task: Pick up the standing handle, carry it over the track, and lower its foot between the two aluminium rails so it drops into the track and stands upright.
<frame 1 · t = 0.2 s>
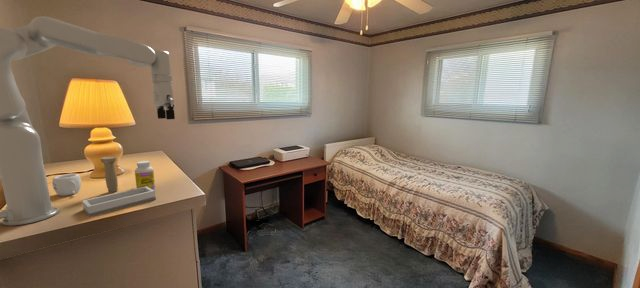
hand: (166, 118, 115), 31 cm above the table, tool pointing down, fingers open, 9 cm apart
mug: (71, 194, 107), on the table
supplement bottle: (146, 191, 111), on the table
track: (121, 204, 96), on the table
handle: (113, 192, 110), on the table
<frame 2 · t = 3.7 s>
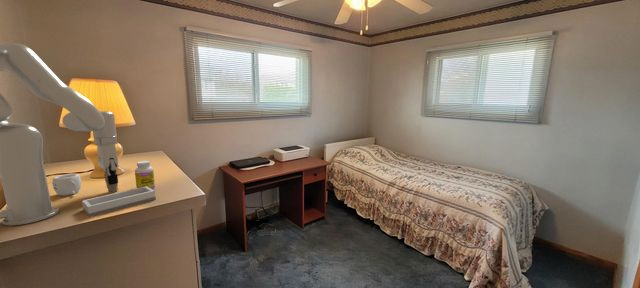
hand: (111, 182, 110), 4 cm above the table, tool pointing down, fingers closed on handle, 4 cm apart
handle: (113, 192, 110), on the table, touching gripper
everything else where it was.
when the fingers open (6 cm above the table, at t = 9.0 s): handle drops 1 cm, resting on track.
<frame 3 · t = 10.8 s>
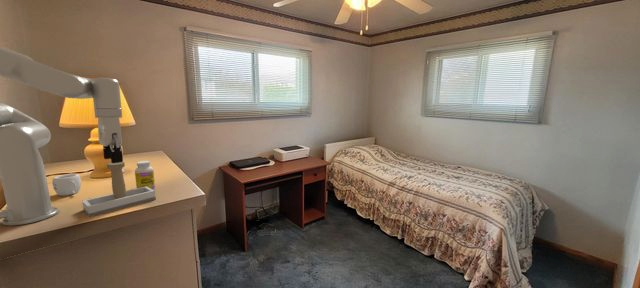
hand: (113, 160, 93), 17 cm above the table, tool pointing down, fingers open, 9 cm apart
handle: (120, 202, 96), point 1 cm above the table, touching track
everything else where it was.
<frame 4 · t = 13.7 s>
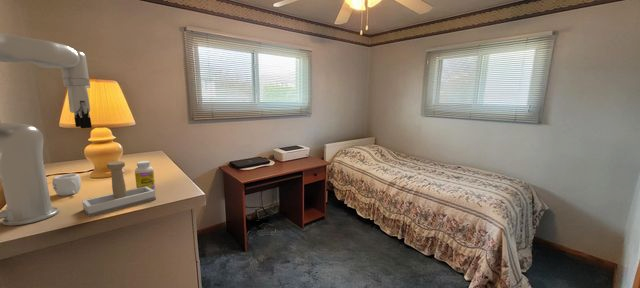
hand: (83, 127, 102), 28 cm above the table, tool pointing down, fingers open, 9 cm apart
nothing on the table moved.
at the end: handle inside the target area on the track (0.2 cm from its centre), point 0.8 cm above the track's base; handle tilted 0°; the gripper is holding nothing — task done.
